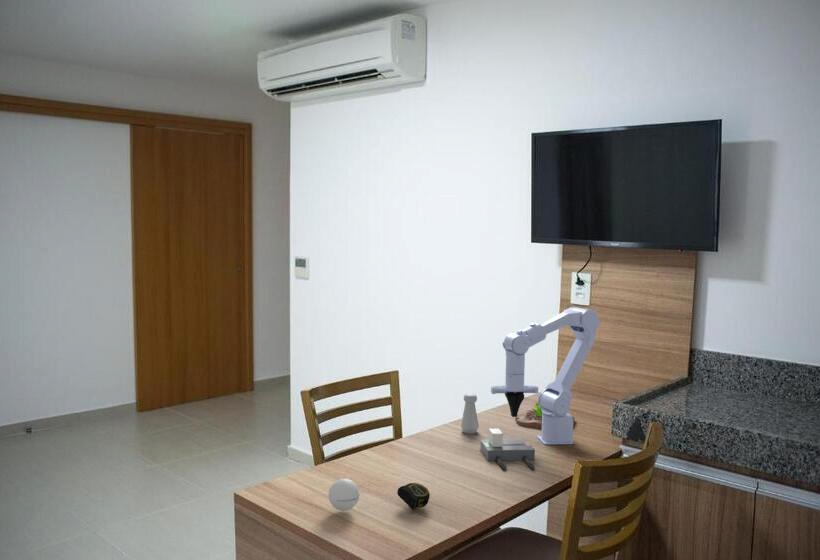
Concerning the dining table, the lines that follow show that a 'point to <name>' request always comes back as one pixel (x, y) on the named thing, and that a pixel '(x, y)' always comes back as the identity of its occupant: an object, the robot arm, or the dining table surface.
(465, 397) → the salt shaker
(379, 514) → the dining table surface
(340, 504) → the white oval body
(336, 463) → the dining table surface
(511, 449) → the breaker block
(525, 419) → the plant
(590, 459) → the dining table surface
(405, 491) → the tape measure
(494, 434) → the breaker handle
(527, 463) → the dressed cords
